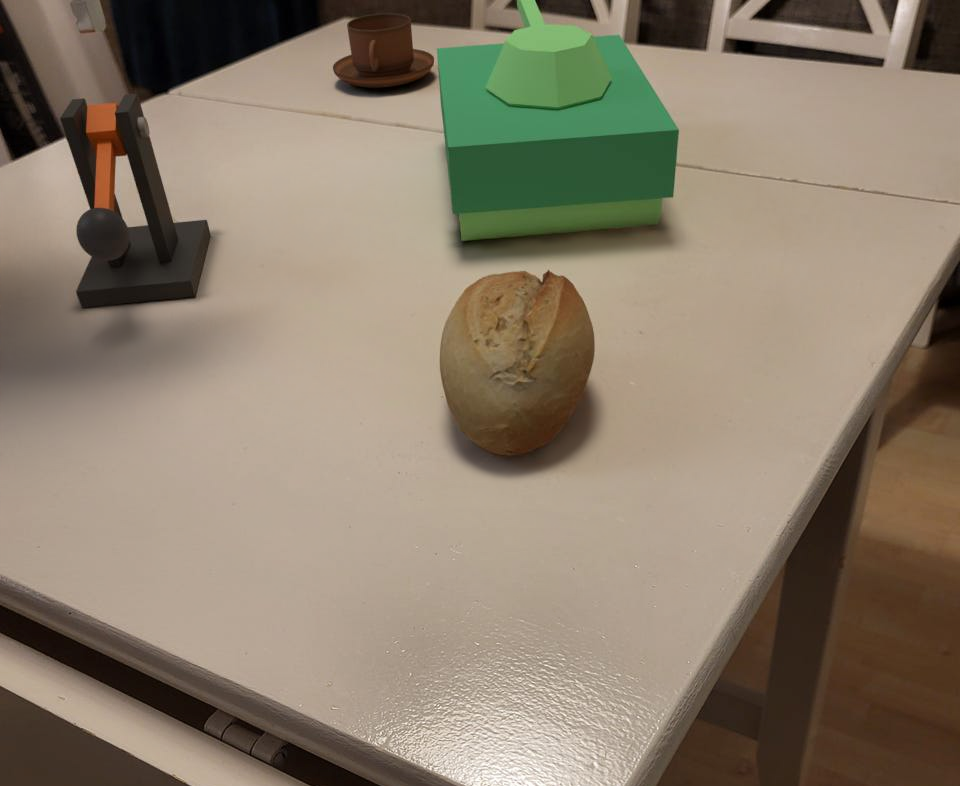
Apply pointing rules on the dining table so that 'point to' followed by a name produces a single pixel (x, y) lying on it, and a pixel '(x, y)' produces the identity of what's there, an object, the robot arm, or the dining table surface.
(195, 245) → the stand with upright posts
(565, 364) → the bread roll
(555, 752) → the dining table surface
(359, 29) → the cup and saucer
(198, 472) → the dining table surface
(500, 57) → the toy tank
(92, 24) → the robot arm
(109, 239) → the pendulum
